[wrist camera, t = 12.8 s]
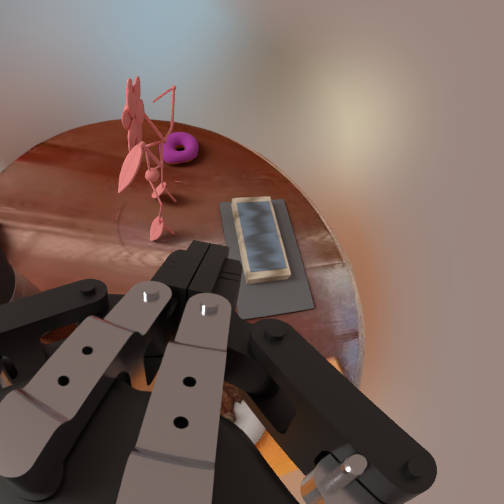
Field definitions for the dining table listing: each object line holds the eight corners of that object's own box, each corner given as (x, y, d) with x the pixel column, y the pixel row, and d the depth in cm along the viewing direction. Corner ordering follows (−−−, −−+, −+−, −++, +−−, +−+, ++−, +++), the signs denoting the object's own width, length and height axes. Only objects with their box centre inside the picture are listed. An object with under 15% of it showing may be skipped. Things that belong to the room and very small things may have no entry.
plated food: (131, 471, 38) (127, 476, 35) (107, 324, 51) (102, 320, 48) (285, 450, 46) (291, 453, 43) (254, 308, 58) (257, 303, 56)
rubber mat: (313, 308, 60) (314, 307, 60) (239, 320, 56) (239, 319, 56) (283, 200, 72) (283, 199, 72) (219, 204, 68) (219, 202, 68)
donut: (161, 170, 71) (160, 157, 66) (157, 144, 75) (156, 131, 71) (201, 164, 74) (202, 151, 70) (194, 139, 78) (195, 126, 74)
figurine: (181, 175, 71) (183, 48, 40) (177, 268, 59) (164, 135, 29) (123, 176, 68) (101, 54, 37) (107, 268, 56) (44, 145, 26)
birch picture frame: (248, 279, 57) (232, 197, 66) (246, 284, 60) (231, 204, 68) (291, 274, 59) (270, 195, 68) (287, 279, 62) (267, 202, 70)
